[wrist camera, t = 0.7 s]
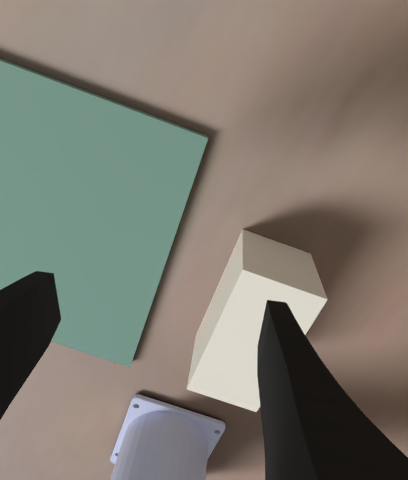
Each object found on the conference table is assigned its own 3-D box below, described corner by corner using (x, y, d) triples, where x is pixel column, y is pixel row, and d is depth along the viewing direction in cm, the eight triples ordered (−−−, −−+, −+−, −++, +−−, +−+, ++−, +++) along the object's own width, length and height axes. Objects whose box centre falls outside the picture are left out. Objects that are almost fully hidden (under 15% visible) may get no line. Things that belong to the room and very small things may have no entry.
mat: (132, 361, 27) (130, 367, 26) (-72, 294, 26) (-79, 298, 25) (209, 136, 19) (208, 138, 18) (-80, 28, 18) (-91, 27, 18)
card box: (254, 352, 26) (256, 412, 21) (196, 333, 25) (186, 389, 21) (310, 252, 22) (327, 299, 17) (242, 228, 21) (242, 269, 17)
